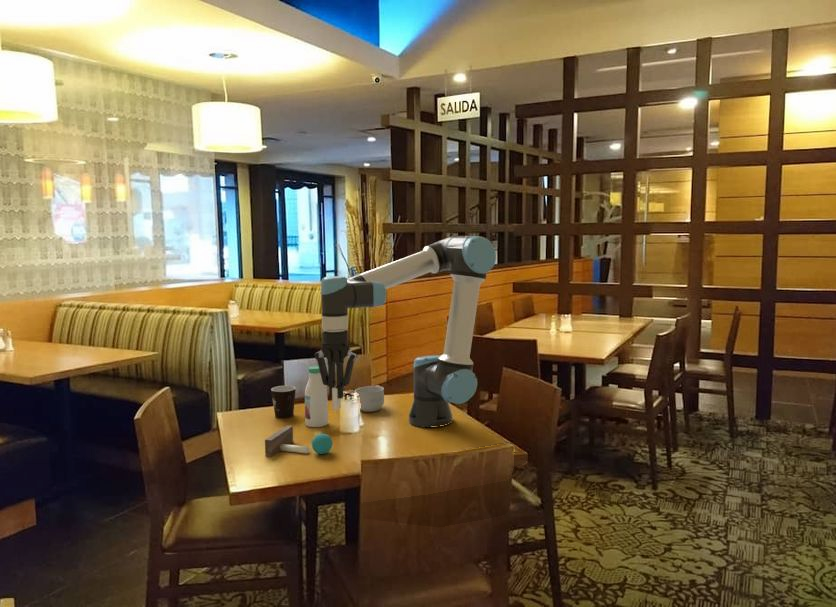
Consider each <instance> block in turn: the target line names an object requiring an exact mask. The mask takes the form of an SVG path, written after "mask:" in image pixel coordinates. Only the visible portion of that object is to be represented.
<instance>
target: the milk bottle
mask: <svg viewBox="0 0 836 607" xmlns="http://www.w3.org/2000/svg"><path fill="white" fill-rule="evenodd" d="M308 374H309V377H308V381H307V383H306V386H305V388H304V389H305V390H304V418H305V419H304V422H305V426H306V427H309V428H323V427H325V426H327V425H328V423H329V411H328V410H329V407H328V405H329V404H328V403H329V402H328V388H327V385H324V384H323V382H322V378H321V374H320V370H319V366H318V365H317V366H316V365H315V366H309V367H308Z"/></svg>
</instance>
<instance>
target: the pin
mask: <svg viewBox="0 0 836 607" xmlns="http://www.w3.org/2000/svg"><path fill="white" fill-rule="evenodd" d="M279 449H280V451H282V452H290V453H298V454H306V455H307V454H309V452H310V447H309V446H303V445H297V444H289V445H287V444H281V445H280V447H279ZM280 451H279V452H280Z"/></svg>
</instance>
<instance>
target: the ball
mask: <svg viewBox="0 0 836 607" xmlns="http://www.w3.org/2000/svg"><path fill="white" fill-rule="evenodd" d="M311 447H312V450H313V451H314V452H315V453H316V454H318V455H326V454H327V453H329V452H330V451H331V450H332V447H333V440H332V438H331V436H330V435H328V434H327V433H319V434H316V435H315V436H314V437H313V438H312V441H311Z"/></svg>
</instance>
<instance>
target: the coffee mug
mask: <svg viewBox="0 0 836 607" xmlns="http://www.w3.org/2000/svg"><path fill="white" fill-rule="evenodd" d="M296 389H297V388H296V386H293V385H278V386H274V387H272V388H271V389H270V390H271V391H270V392H271V397H272V404H273V410H274V416H275V418H276V419H283V420H284V419H289V418H292V417H294V413H295V400H296Z"/></svg>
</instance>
